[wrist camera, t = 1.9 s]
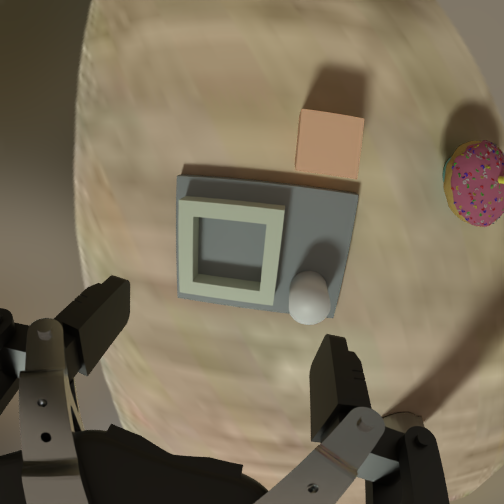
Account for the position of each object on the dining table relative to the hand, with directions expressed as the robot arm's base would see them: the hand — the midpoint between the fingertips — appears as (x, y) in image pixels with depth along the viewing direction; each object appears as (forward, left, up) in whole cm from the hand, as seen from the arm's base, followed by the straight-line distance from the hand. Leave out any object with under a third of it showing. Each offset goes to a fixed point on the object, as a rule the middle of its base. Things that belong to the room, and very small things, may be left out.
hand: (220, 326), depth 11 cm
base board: (0, +4, -21) cm, 21 cm away
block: (-5, -7, -21) cm, 22 cm away
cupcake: (-21, -7, -21) cm, 30 cm away
